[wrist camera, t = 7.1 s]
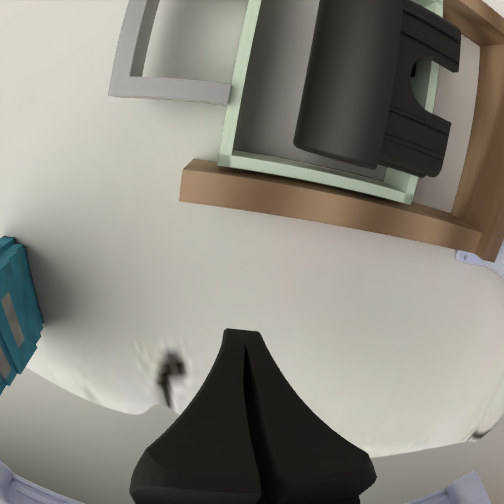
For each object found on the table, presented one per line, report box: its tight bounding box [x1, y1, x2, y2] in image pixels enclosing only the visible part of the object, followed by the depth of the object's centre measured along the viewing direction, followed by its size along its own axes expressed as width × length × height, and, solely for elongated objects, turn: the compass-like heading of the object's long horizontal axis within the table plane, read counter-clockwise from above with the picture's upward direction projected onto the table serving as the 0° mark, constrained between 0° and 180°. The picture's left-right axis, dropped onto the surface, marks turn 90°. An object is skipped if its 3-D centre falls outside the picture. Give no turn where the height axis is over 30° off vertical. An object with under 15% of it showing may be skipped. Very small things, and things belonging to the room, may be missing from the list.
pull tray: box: [108, 0, 443, 205], centre depth 13 cm, size 17×14×4 cm
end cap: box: [293, 0, 461, 178], centre depth 13 cm, size 10×7×7 cm
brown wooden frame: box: [179, 0, 504, 263], centre depth 13 cm, size 21×18×5 cm
